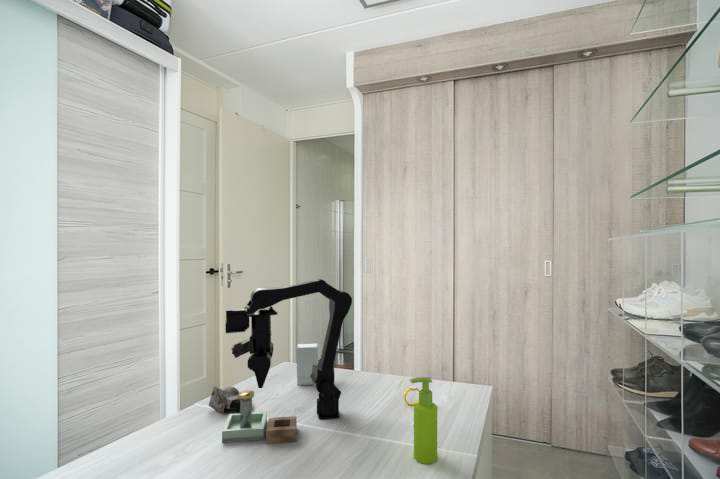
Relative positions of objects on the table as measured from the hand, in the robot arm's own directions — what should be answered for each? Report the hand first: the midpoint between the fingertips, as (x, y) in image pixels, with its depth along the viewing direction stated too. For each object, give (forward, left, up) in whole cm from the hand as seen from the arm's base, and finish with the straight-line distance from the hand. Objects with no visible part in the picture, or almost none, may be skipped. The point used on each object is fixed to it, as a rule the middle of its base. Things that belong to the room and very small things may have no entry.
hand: (261, 382), depth 116 cm
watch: (-49, -8, -13) cm, 52 cm away
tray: (+4, +4, -13) cm, 14 cm away
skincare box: (-14, -34, -13) cm, 39 cm away
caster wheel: (+11, -14, -13) cm, 22 cm away
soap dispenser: (-42, +25, -13) cm, 51 cm away
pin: (+4, +4, -12) cm, 13 cm away
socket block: (-6, +8, -13) cm, 16 cm away
